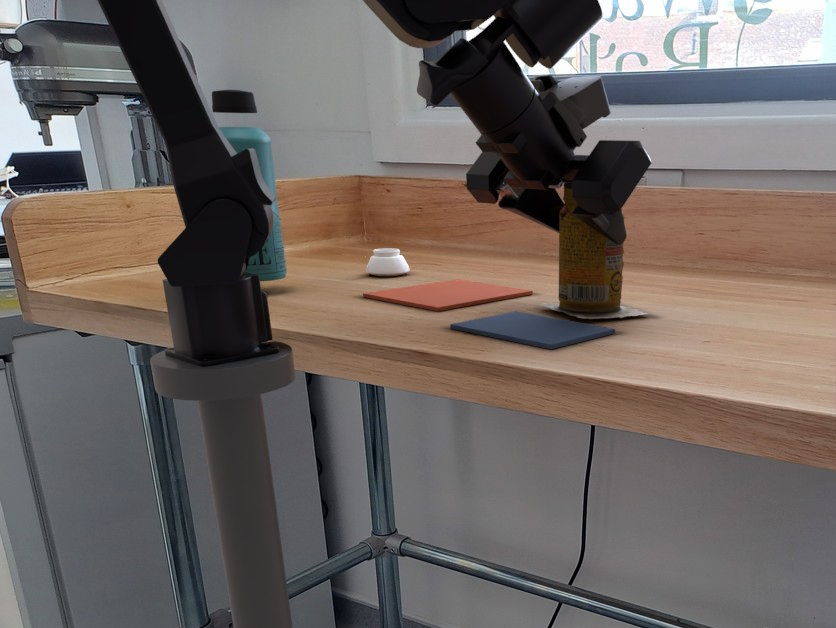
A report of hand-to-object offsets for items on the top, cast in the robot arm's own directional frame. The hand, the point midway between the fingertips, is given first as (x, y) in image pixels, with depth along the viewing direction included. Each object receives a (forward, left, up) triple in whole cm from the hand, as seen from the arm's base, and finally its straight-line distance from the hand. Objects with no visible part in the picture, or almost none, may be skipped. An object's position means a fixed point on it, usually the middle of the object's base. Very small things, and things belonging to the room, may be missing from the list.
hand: (599, 238), depth 81 cm
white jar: (+1, +34, -7) cm, 35 cm away
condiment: (-1, -1, -7) cm, 7 cm away
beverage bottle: (-16, +34, -7) cm, 38 cm away
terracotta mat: (-4, +17, -7) cm, 19 cm away
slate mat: (-11, -2, -7) cm, 13 cm away
